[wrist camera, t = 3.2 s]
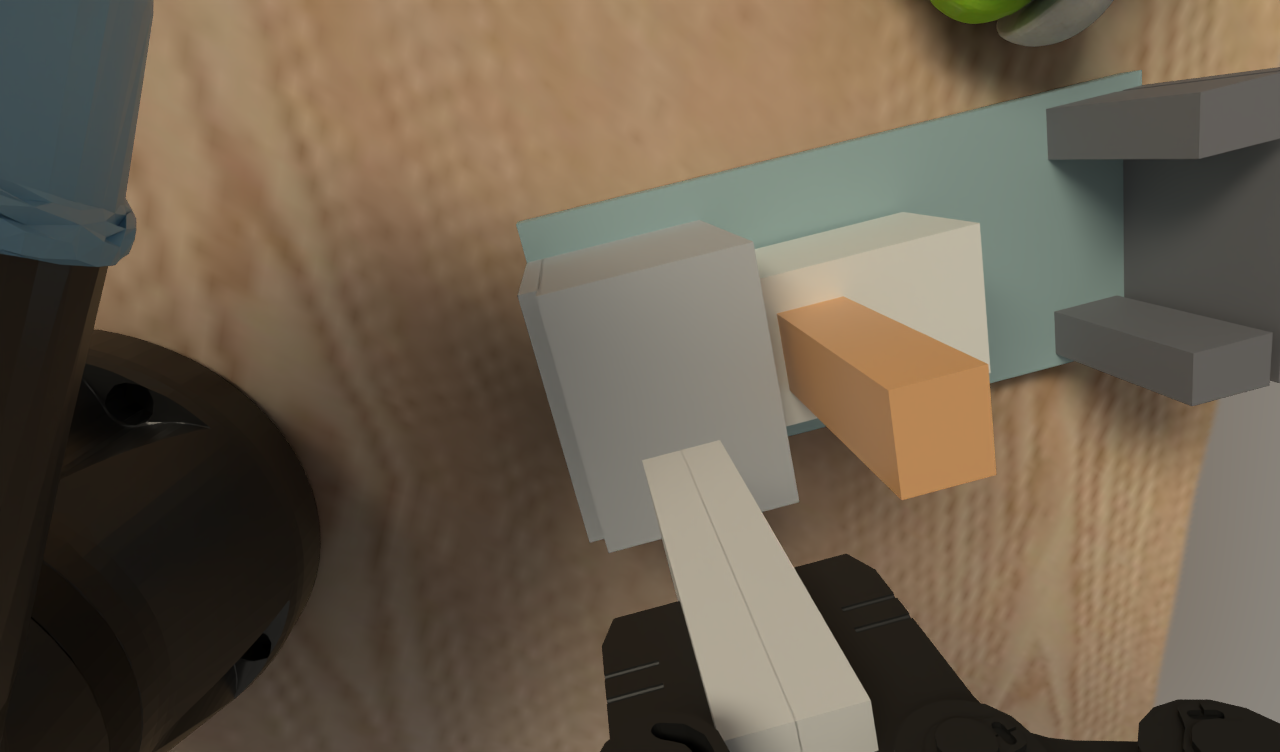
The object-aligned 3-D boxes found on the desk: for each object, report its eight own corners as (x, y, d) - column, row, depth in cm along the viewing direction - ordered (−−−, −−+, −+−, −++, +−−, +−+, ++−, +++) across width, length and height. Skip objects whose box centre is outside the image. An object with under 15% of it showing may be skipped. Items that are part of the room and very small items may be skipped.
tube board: (589, 477, 27) (602, 596, 20) (517, 221, 24) (500, 249, 16) (1121, 337, 28) (1326, 401, 20) (1119, 73, 25) (1360, 35, 17)
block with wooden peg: (599, 418, 25) (634, 621, 14) (566, 296, 24) (575, 415, 13) (915, 336, 25) (1190, 469, 14) (902, 212, 24) (1196, 254, 13)
